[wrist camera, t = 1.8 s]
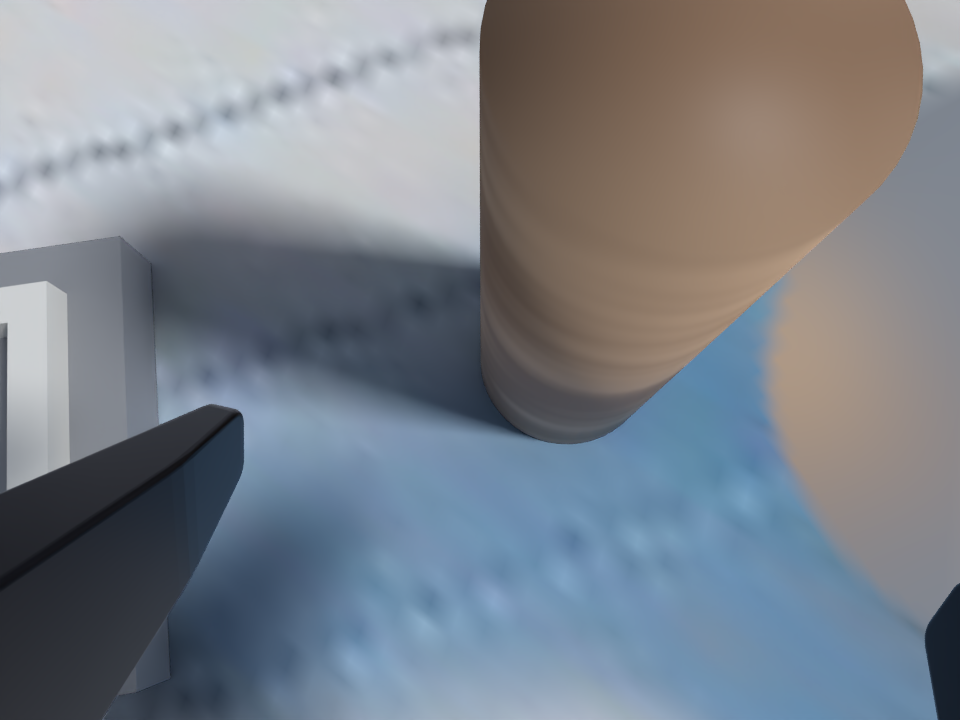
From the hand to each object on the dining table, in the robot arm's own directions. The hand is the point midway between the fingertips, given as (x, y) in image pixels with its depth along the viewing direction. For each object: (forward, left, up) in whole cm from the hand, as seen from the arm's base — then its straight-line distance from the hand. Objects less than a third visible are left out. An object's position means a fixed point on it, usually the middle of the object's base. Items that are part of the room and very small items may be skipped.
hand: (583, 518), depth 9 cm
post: (+5, -2, -12) cm, 13 cm away
